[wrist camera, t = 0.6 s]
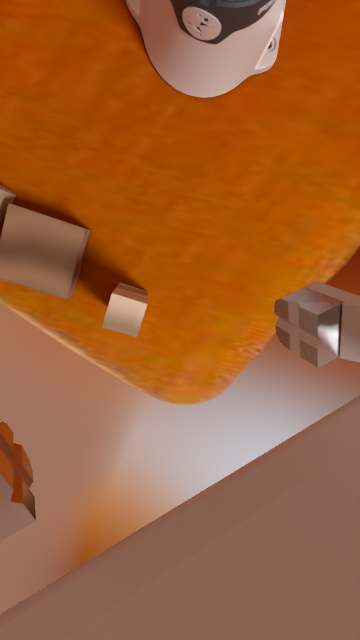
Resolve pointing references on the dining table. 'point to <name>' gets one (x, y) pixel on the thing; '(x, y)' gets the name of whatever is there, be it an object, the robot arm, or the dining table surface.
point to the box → (5, 200)
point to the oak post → (126, 309)
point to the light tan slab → (41, 251)
